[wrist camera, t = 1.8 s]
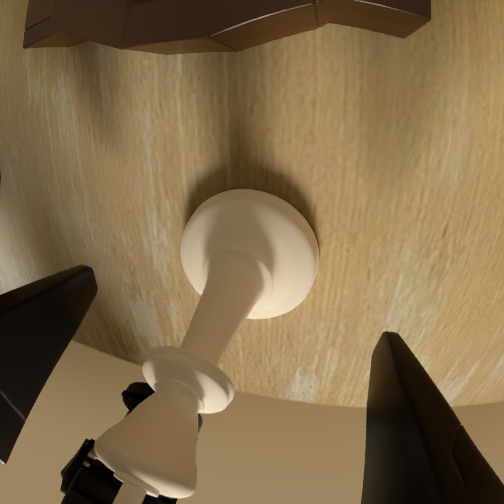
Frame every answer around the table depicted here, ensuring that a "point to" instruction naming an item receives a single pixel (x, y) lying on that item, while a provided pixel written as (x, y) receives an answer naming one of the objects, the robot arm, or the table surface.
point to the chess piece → (210, 334)
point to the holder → (208, 22)
